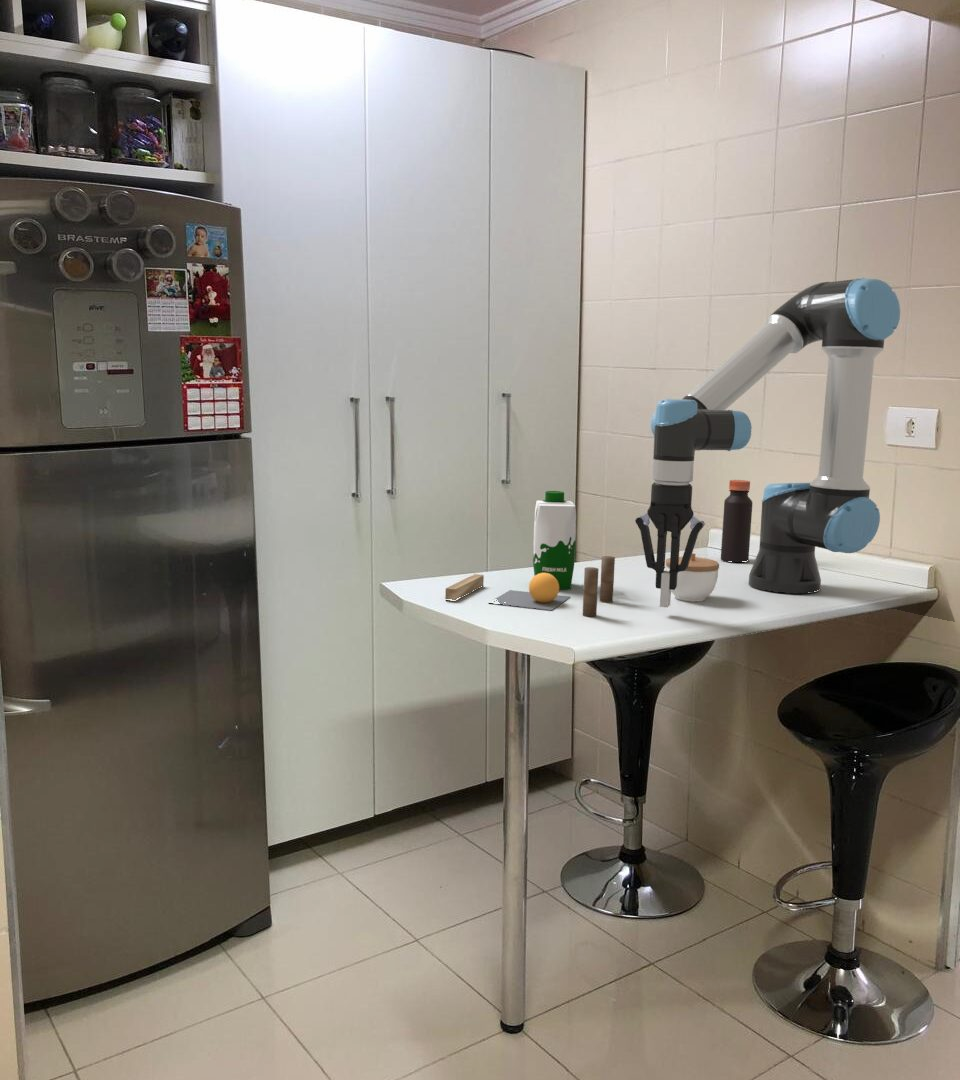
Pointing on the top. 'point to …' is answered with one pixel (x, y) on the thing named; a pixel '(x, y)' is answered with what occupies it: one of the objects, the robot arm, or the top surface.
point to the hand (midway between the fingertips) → (665, 605)
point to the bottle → (737, 522)
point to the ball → (544, 587)
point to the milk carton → (555, 538)
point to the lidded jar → (695, 579)
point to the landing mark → (528, 600)
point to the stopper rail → (464, 587)
